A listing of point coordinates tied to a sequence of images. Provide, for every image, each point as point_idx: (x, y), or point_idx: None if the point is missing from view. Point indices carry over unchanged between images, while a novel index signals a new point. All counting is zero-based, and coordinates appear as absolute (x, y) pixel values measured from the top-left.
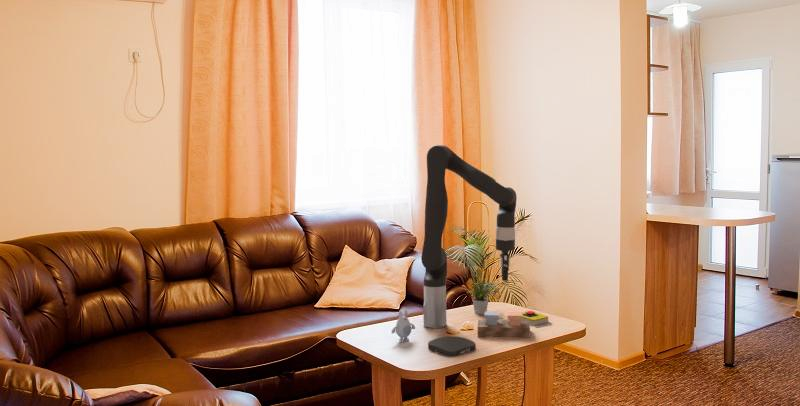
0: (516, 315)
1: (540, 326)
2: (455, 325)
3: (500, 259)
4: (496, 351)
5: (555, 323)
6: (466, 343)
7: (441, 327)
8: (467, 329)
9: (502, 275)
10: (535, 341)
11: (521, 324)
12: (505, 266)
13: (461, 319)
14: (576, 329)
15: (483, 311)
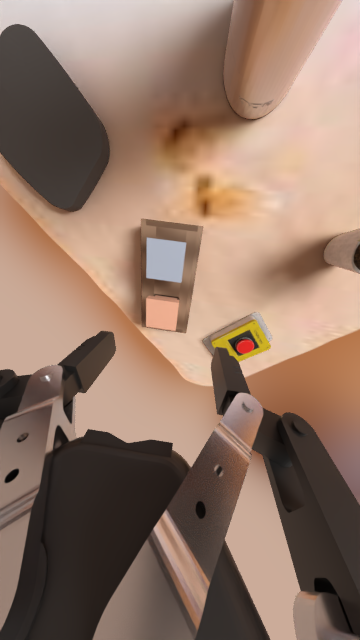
0: (148, 316)
1: (205, 344)
2: (244, 158)
3: (28, 499)
4: (71, 254)
5: None
6: (49, 181)
7: (226, 95)
8: (203, 199)
9: (84, 346)
10: (133, 323)
11: None
12: (223, 412)
13: (299, 183)
14: (188, 379)
15: (328, 255)
